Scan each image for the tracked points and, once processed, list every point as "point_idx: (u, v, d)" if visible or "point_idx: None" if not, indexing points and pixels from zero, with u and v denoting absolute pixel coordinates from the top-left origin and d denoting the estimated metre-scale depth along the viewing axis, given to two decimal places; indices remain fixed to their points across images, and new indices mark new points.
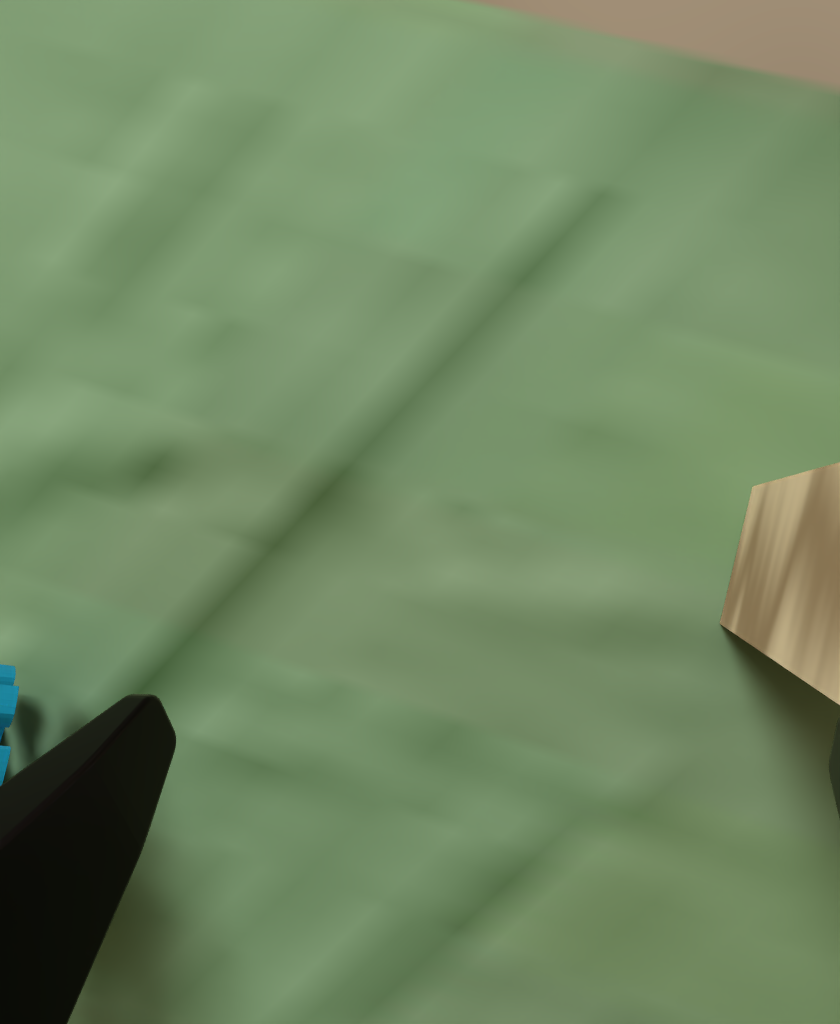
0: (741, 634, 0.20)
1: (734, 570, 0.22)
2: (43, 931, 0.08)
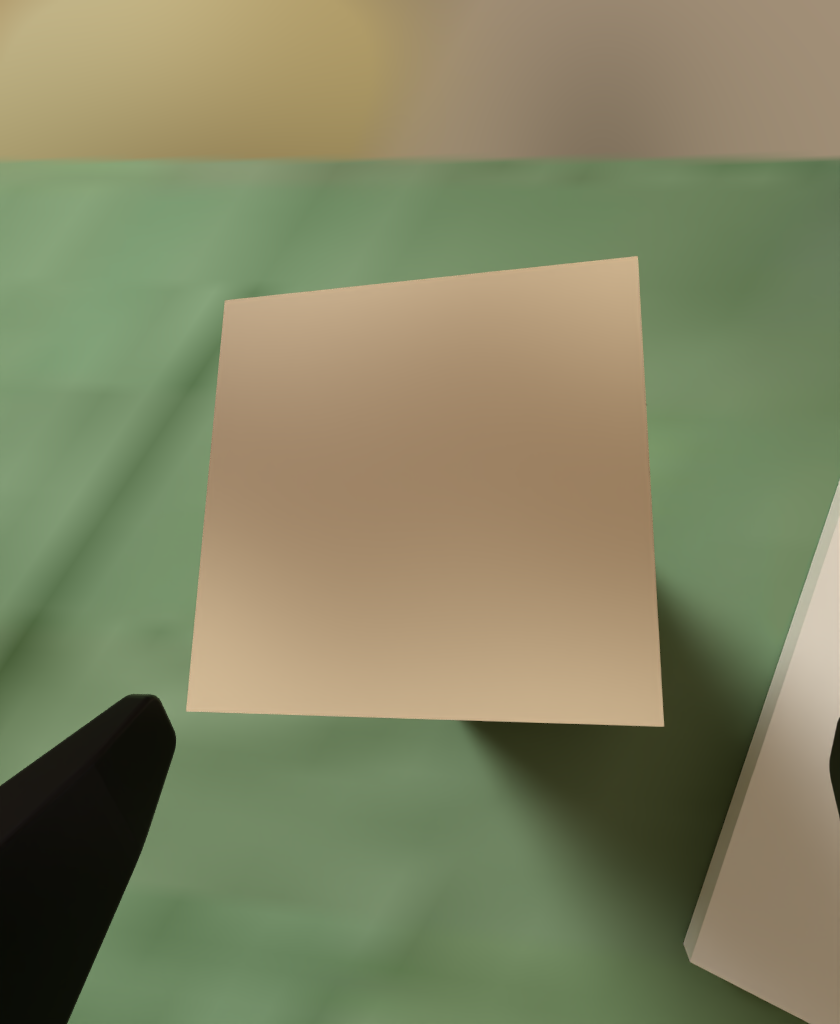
0: None
1: None
2: (43, 931, 0.08)
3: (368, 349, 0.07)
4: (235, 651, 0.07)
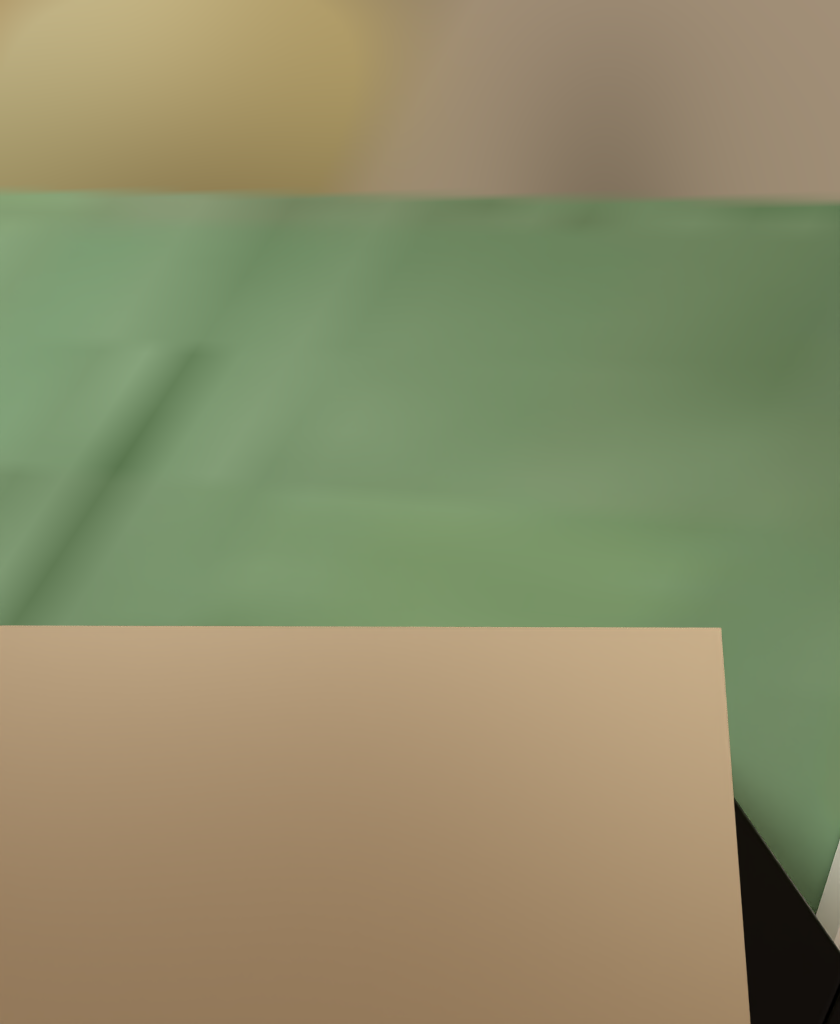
0: None
1: None
2: None
3: (162, 775, 0.04)
4: None
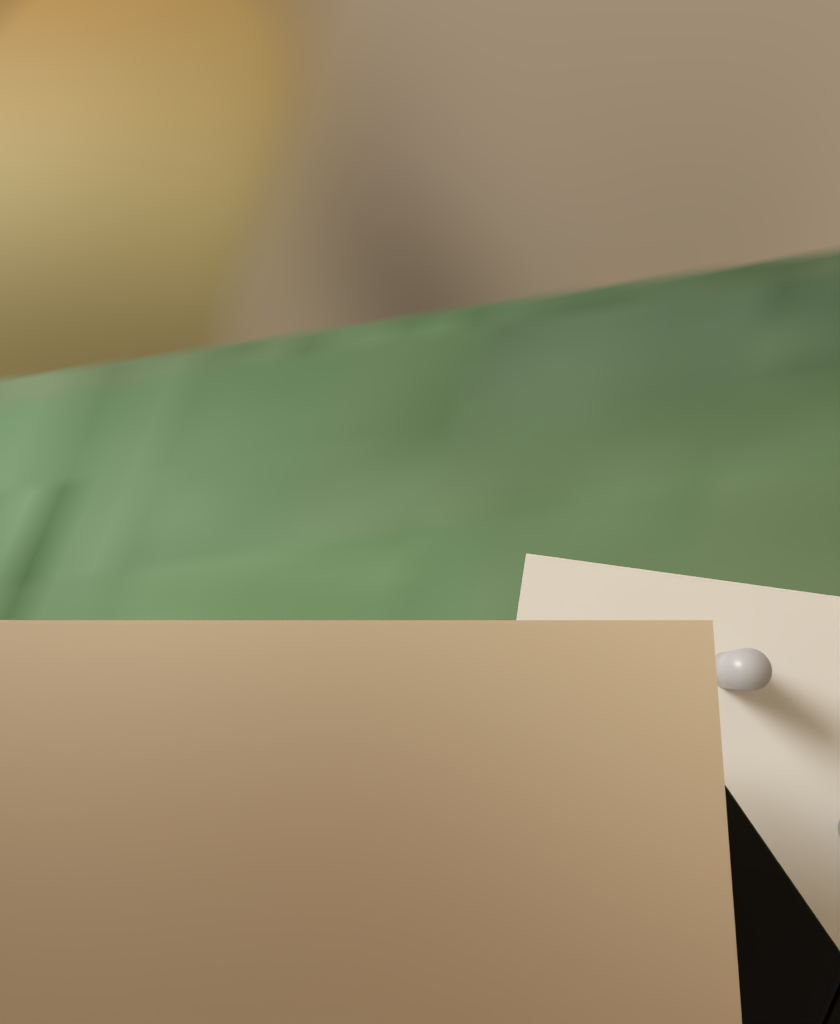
0: None
1: None
2: None
3: (155, 768, 0.04)
4: None
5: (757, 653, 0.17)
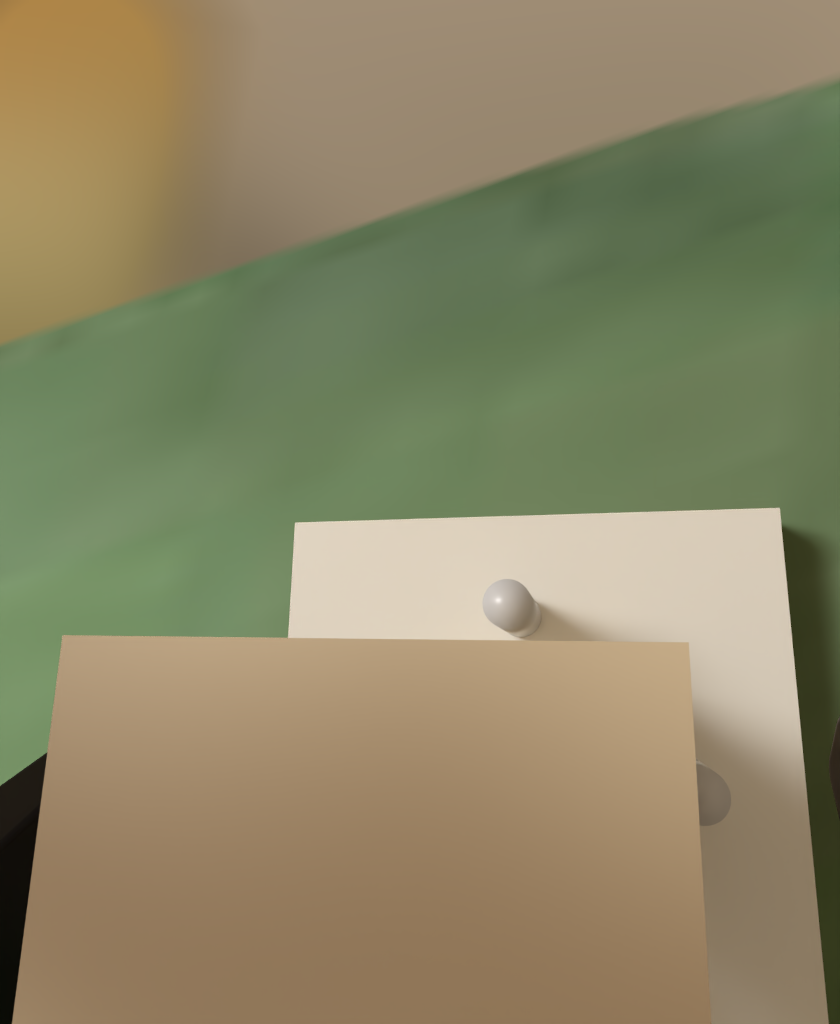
0: None
1: None
2: None
3: (268, 751, 0.05)
4: None
5: (514, 583, 0.15)
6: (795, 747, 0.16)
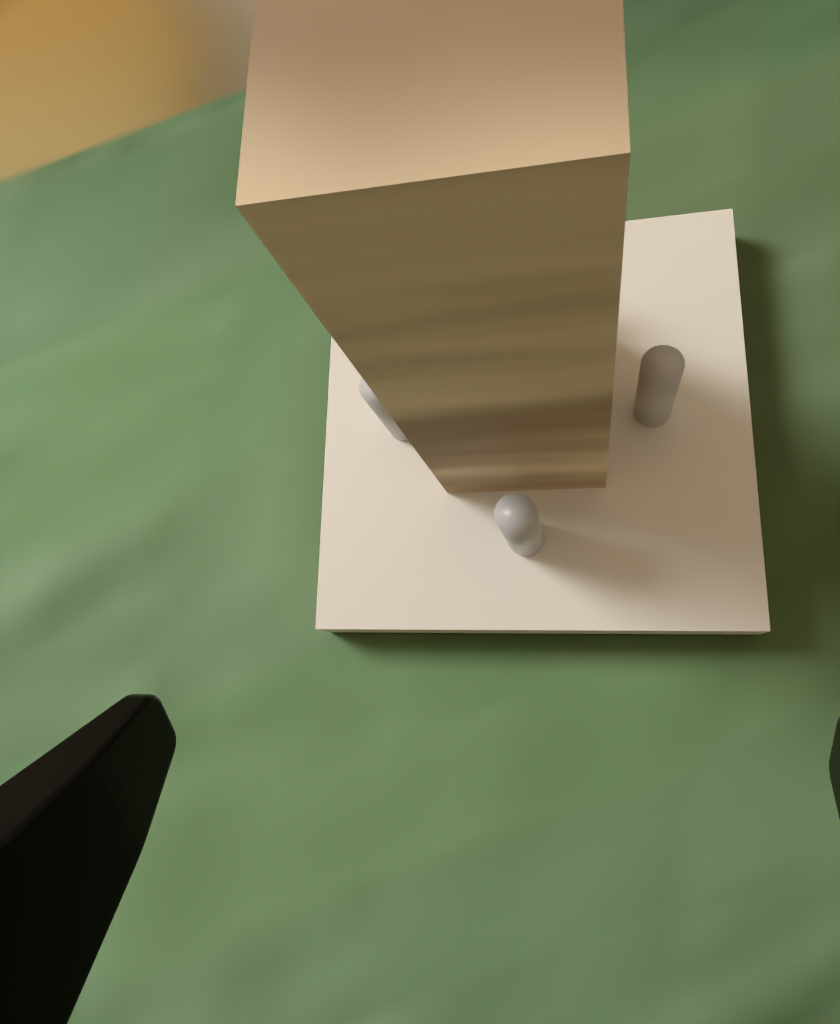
0: None
1: None
2: (43, 931, 0.08)
3: None
4: (278, 157, 0.08)
5: None
6: (742, 381, 0.20)
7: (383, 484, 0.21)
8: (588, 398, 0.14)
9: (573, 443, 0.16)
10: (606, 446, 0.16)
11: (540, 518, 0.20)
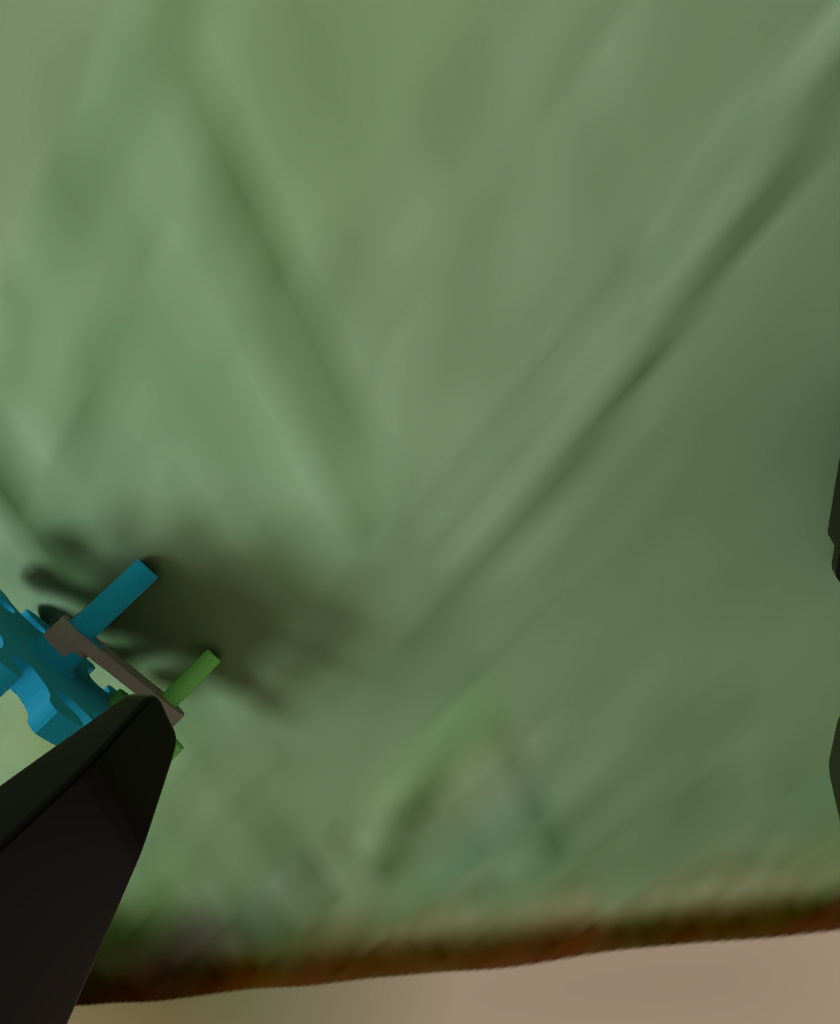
0: None
1: None
2: (43, 931, 0.08)
3: None
4: None
5: None
6: None
7: None
8: None
9: None
10: None
11: None
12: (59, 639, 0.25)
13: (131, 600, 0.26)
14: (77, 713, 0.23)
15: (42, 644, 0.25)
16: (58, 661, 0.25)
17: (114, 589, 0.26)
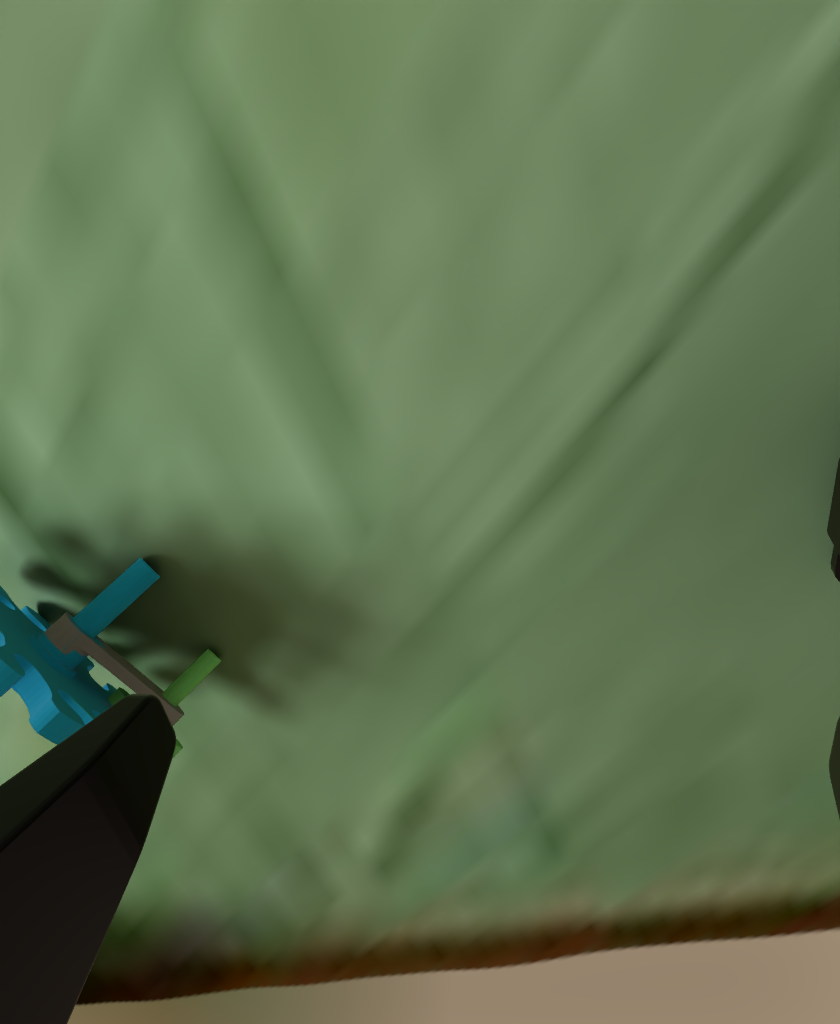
0: None
1: None
2: (43, 931, 0.08)
3: None
4: None
5: None
6: None
7: None
8: None
9: None
10: None
11: None
12: (60, 637, 0.25)
13: (133, 599, 0.26)
14: (78, 712, 0.23)
15: (43, 642, 0.25)
16: (59, 659, 0.25)
17: (116, 588, 0.26)
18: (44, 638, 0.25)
